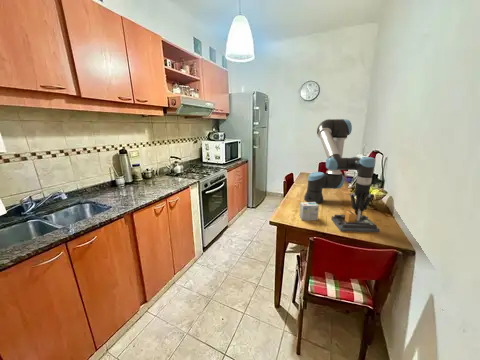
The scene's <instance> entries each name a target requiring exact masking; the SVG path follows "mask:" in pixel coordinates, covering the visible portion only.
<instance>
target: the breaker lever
mask: <svg viewBox="0 0 480 360" xmlns="http://www.w3.org/2000/svg"><path fill="white" fill-rule="evenodd" d="M344 215H345V221H346V222H355V219H356V214H355V211H353V210H346V211H345V214H344Z"/></svg>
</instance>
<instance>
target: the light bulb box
mask: <svg viewBox="0 0 480 360" xmlns="http://www.w3.org/2000/svg"><path fill="white" fill-rule="evenodd" d="M299 204H300V205H299V215H298V216H300V217H299V219H300V220H301V221H318V219H319V209H320V208H319V207H320V205H319V203H316V202H307V201H304V202H303V201H302V202H300V203H299Z"/></svg>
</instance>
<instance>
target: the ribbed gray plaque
mask: <svg viewBox="0 0 480 360" xmlns="http://www.w3.org/2000/svg"><path fill="white" fill-rule="evenodd" d="M345 215H346V214H334V215H333V216H334V217H335V218H340V217H341V216H345ZM360 216H362V217H363V218H362V219H369V216H367V215H363V214H362V215H360ZM342 226H343V227H348V228H377V227H378V225H376V224H375V225H370V224H342Z"/></svg>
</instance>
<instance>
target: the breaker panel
mask: <svg viewBox="0 0 480 360" xmlns="http://www.w3.org/2000/svg"><path fill="white" fill-rule="evenodd" d="M334 216H335V215H333V216H331V221H332V223H333V224H334V225H335V226H336V228H337V229H338V230H339V231H340V232H346V231H349V232H350V231H352V233H378V234H379V233H380V230H381V228H380V227H378V226H377V228H348V227H343V226H342V224H370V225H376V224H375V222H373V221H372V220H370V219H369V218H368V219H362V218H363V217H362V216H360V220H359V221H357V220H356V219H355V222H346V221H345V216H341V217H340V218H335V217H334ZM350 233H351V232H350Z"/></svg>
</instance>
